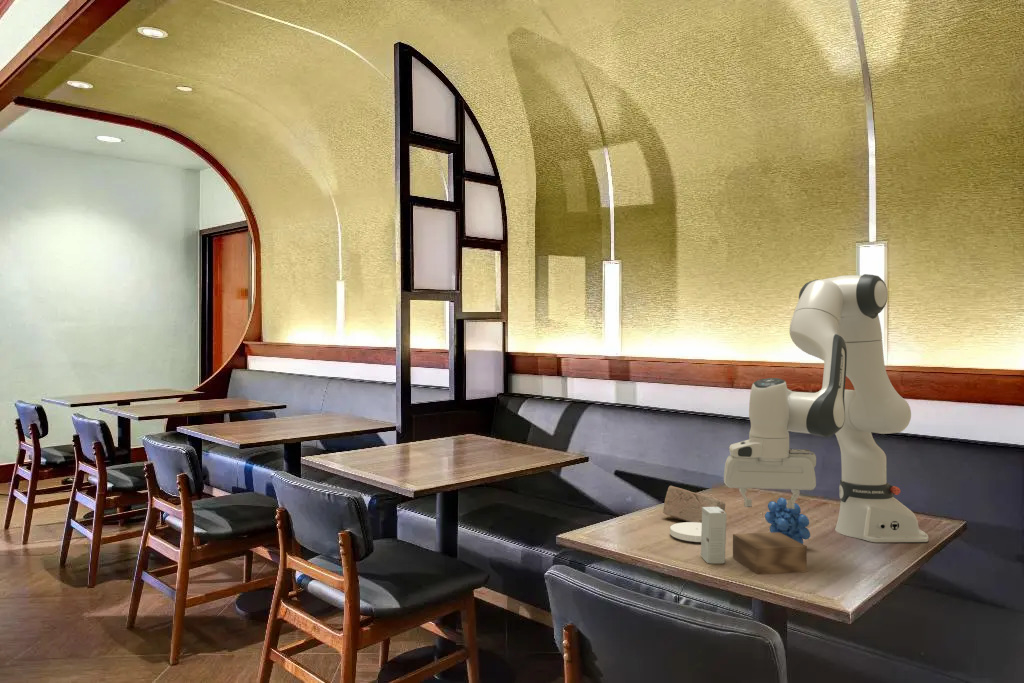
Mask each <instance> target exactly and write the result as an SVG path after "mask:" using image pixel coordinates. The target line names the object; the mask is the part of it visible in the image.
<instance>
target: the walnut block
mask: <svg viewBox="0 0 1024 683" xmlns="http://www.w3.org/2000/svg"><path fill="white" fill-rule="evenodd" d="M807 550H808V547H807V546H806V545H805V544H804V543H803V544H801V543H799V542H797V541H796V540H794V539H792V538H790V537H788V536H786V535H784V534H782V533H780V532H754V533H753V532H751V533H750V532H749V533H733V534H732V559H734V560H735V561H737V562H738V563H740V564H741V565H743V567H746V568H747V569H749V570H750V571H751V572H753V573H755V574H756V575H764V574H784V573H787V574H788V573H802V572H803V573H806V572H807V571H808V570H807V569H808V567H807V565H808V563H807V562H808V560H807V559H808V558H807V557H808V552H807Z"/></svg>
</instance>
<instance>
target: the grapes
mask: <svg viewBox="0 0 1024 683" xmlns="http://www.w3.org/2000/svg"><path fill="white" fill-rule="evenodd" d="M786 500H787V498H785V497H779V498H778V499H777V501H776V502H775V501H773V500H771V501H769V502H768V503H767V508H768V511H766V513H764V518H765V521H766V522H767V523H768V524H770V526H769V533H771V532H780V533H782V534H784V535H786V536H788V537H790V538H792V539H794V540H796V541H797V542H799V543H801V544H803V545H804V540H806V541H807V540H809V539H810V538H811V532H810V530H809V529H808V528H807V527H808V526H809V525H810V519H809V518H808V516H807V515H805V514H804V513H801V512H802V509H801V507H800V505H799V504H798V503H795V502H794V509H787V507H786V504H787V503H786Z"/></svg>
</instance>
